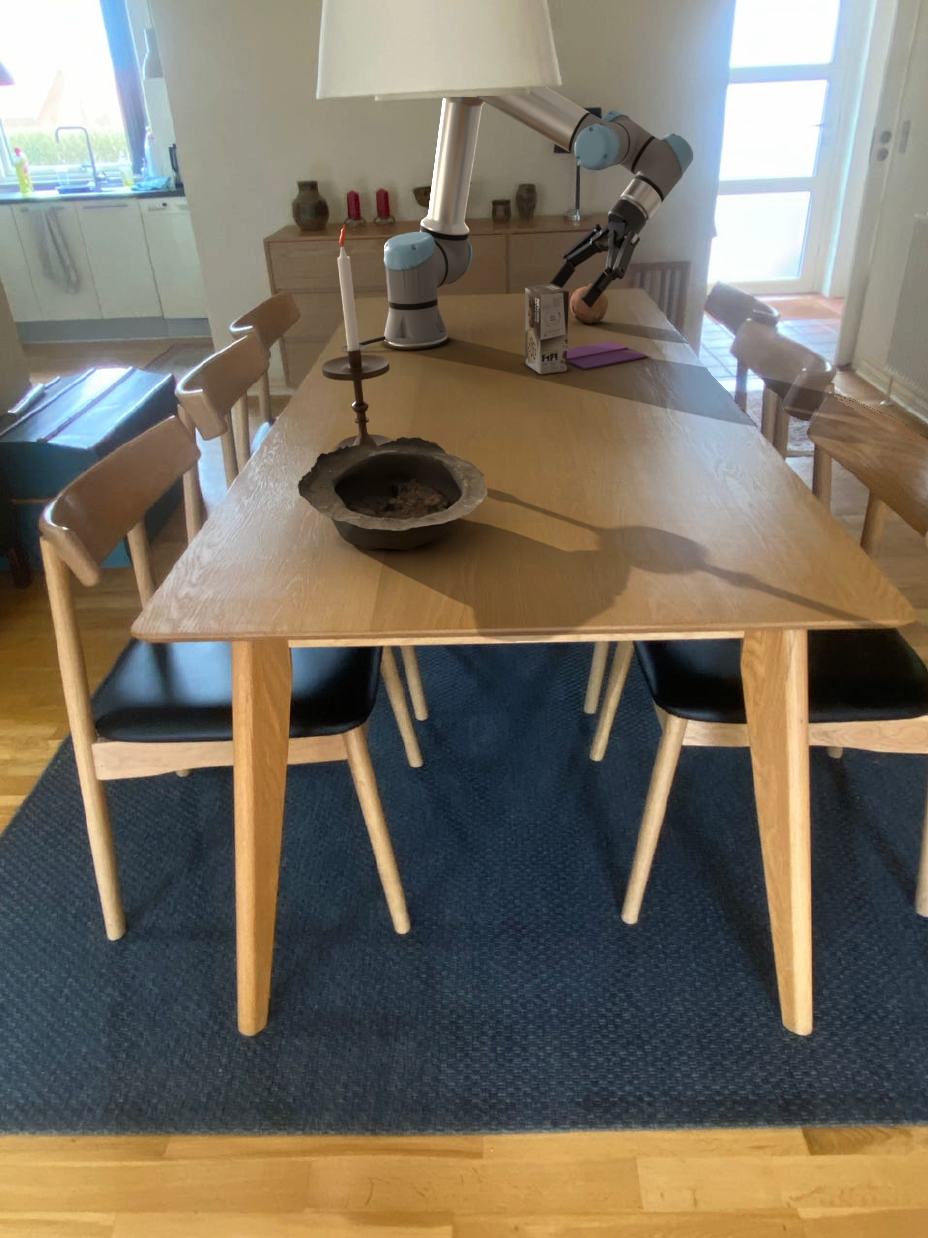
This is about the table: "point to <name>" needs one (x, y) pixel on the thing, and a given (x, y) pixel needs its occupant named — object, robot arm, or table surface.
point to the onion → (585, 312)
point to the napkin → (601, 355)
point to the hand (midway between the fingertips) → (568, 297)
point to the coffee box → (546, 328)
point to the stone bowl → (393, 492)
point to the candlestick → (354, 358)
